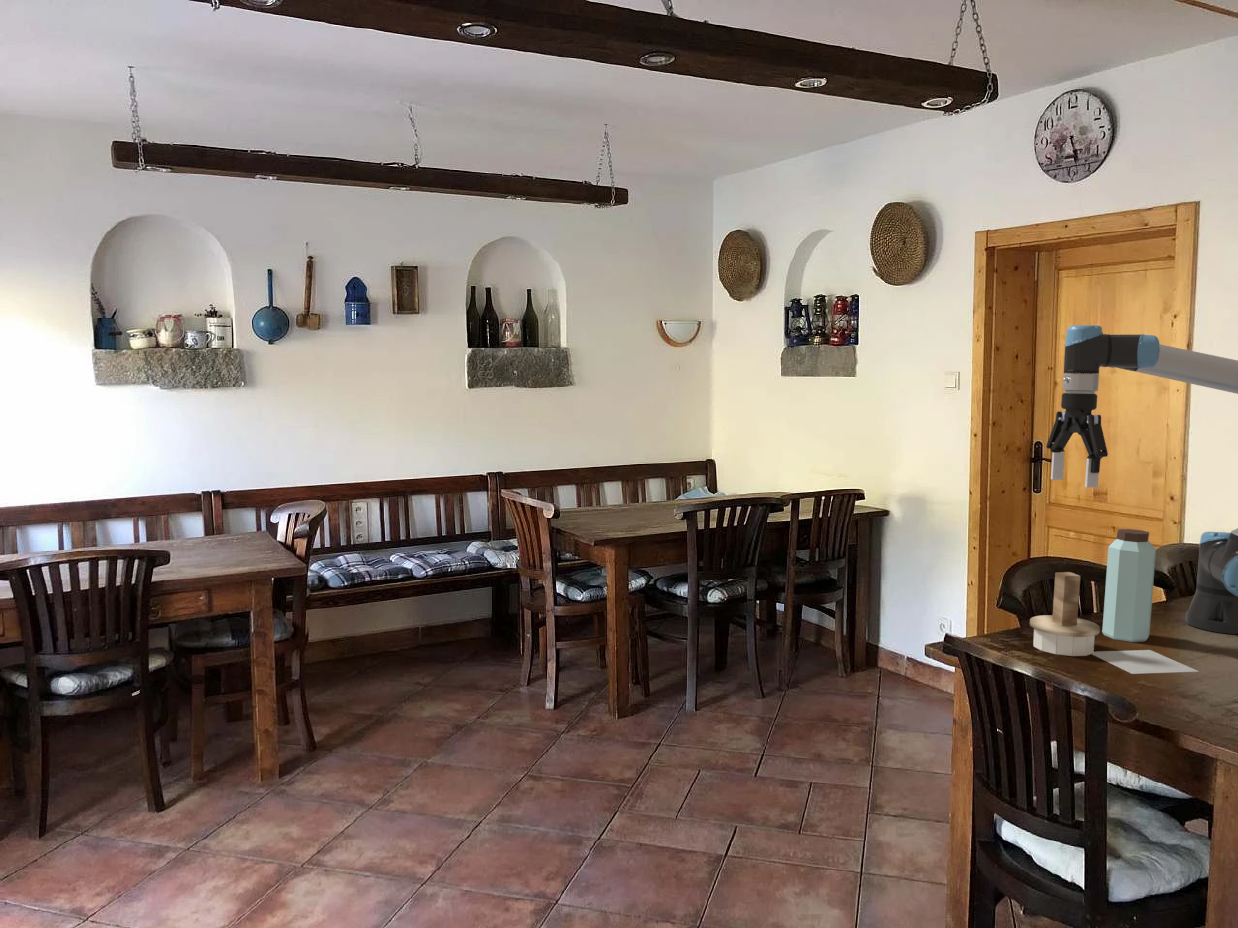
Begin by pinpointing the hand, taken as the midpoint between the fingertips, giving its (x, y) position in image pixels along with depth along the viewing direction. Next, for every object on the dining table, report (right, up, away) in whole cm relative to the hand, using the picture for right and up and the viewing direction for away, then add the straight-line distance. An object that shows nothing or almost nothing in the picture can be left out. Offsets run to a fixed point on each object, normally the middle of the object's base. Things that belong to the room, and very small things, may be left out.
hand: (1073, 483), depth 235 cm
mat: (+4, -38, -24) cm, 45 cm away
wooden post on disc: (-9, -31, -15) cm, 36 cm away
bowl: (-9, -36, -15) cm, 40 cm away
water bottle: (+10, -36, -5) cm, 37 cm away
